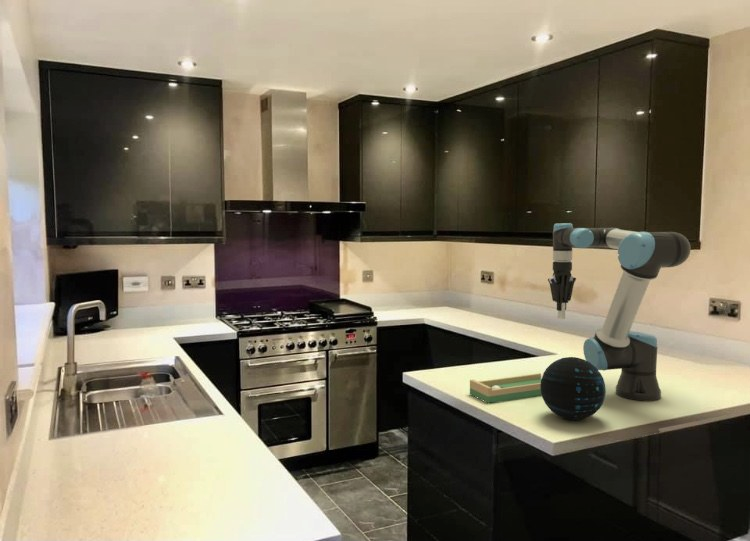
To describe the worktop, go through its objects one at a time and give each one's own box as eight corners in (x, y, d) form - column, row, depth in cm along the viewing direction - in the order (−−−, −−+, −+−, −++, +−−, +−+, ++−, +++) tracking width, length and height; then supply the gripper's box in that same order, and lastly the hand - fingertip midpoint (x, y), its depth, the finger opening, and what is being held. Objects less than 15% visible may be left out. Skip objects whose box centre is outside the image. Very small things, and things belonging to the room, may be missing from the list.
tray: (560, 392, 213) (560, 378, 213) (488, 403, 201) (488, 388, 200) (539, 384, 224) (539, 370, 224) (469, 394, 212) (469, 379, 211)
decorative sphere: (608, 431, 172) (610, 367, 171) (540, 426, 178) (541, 363, 176) (601, 411, 192) (602, 352, 190) (539, 406, 197) (540, 349, 195)
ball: (490, 395, 206) (494, 399, 209) (500, 392, 205) (504, 396, 208) (487, 385, 209) (491, 389, 211) (498, 382, 207) (501, 386, 210)
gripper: (568, 260, 238) (567, 315, 239) (543, 261, 232) (542, 318, 234) (581, 261, 231) (580, 318, 233) (556, 262, 226) (555, 320, 227)
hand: (561, 318), depth 233 cm, fingers closed
